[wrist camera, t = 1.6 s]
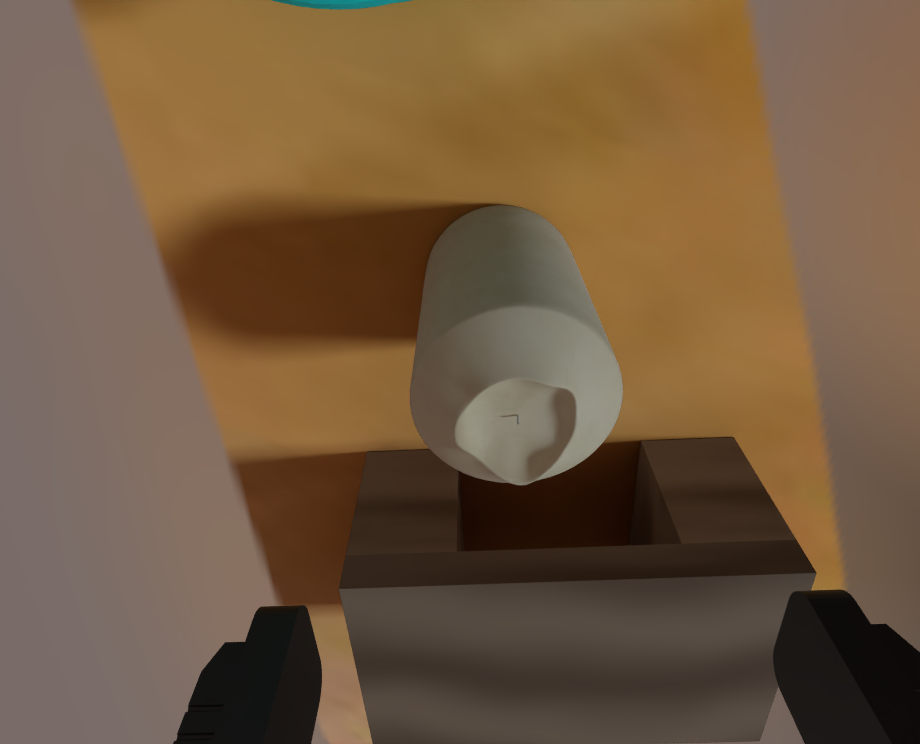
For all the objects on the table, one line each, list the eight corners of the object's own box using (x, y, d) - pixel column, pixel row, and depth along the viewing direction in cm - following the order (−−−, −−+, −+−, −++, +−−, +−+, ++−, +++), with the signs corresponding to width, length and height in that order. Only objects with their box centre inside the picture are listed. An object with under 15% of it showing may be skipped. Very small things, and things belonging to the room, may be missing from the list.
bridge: (367, 452, 28) (338, 589, 22) (733, 437, 28) (816, 573, 21) (391, 603, 33) (374, 751, 27) (700, 593, 33) (759, 741, 26)
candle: (567, 339, 25) (622, 520, 17) (428, 341, 25) (411, 522, 17) (579, 201, 22) (652, 332, 14) (422, 203, 22) (398, 335, 14)
